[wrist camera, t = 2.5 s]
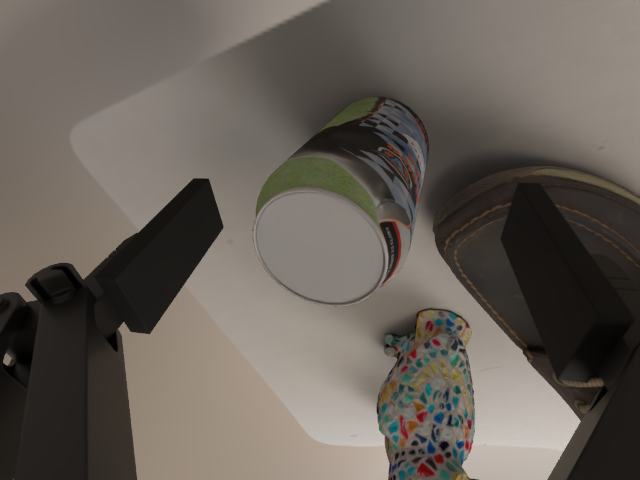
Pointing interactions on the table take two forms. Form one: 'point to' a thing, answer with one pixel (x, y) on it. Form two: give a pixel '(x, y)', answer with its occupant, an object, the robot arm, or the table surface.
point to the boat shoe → (493, 264)
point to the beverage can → (344, 204)
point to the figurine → (428, 400)
